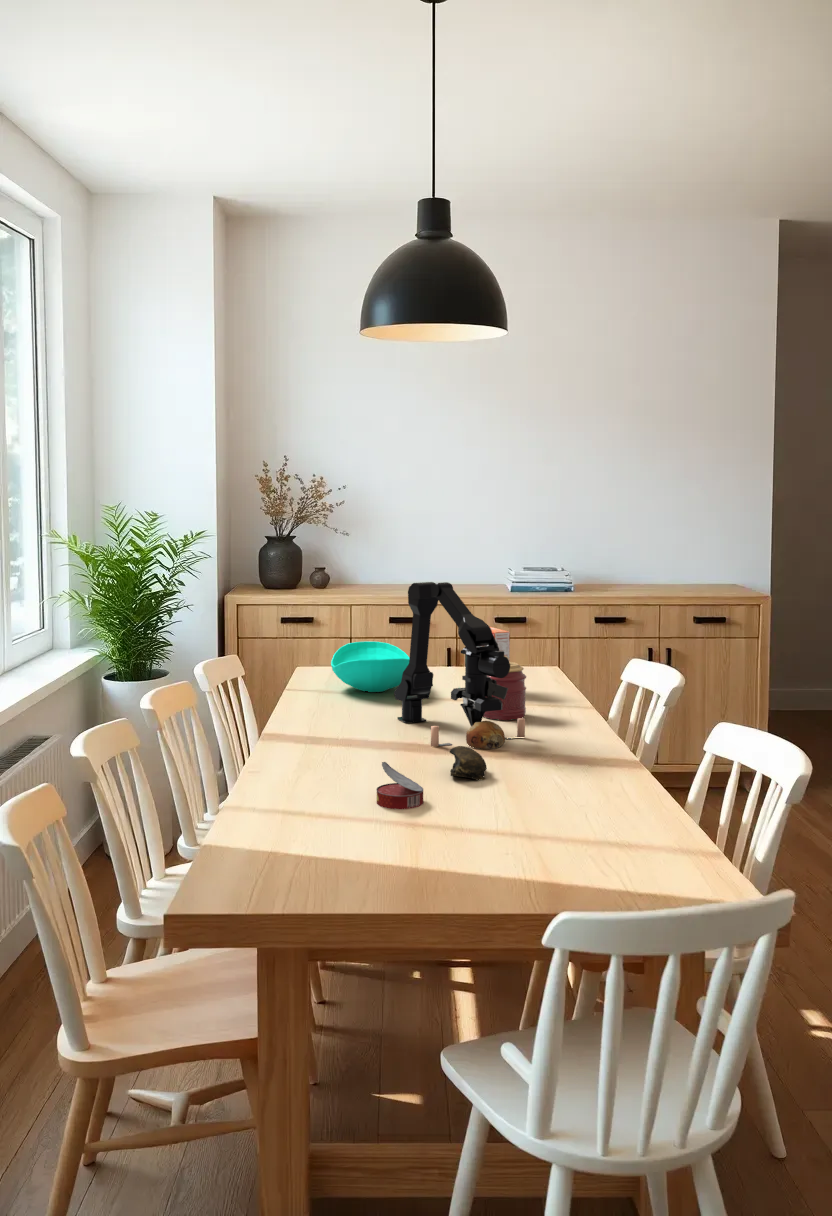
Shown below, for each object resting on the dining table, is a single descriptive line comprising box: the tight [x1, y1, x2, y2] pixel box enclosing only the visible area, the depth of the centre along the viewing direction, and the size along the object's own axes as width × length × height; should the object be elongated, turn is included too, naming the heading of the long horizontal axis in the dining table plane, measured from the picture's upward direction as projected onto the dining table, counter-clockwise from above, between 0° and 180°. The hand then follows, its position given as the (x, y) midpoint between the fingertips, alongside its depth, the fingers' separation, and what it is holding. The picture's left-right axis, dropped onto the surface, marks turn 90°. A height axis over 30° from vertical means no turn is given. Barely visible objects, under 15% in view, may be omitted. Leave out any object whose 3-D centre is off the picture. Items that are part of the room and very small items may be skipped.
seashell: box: [449, 745, 487, 781], centre depth 252 cm, size 16×9×7 cm, turn 179°
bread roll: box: [465, 720, 506, 750], centre depth 281 cm, size 10×10×8 cm
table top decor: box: [330, 641, 410, 693], centre depth 354 cm, size 40×28×13 cm
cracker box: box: [480, 625, 511, 660], centre depth 351 cm, size 14×6×21 cm, turn 25°
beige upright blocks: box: [430, 717, 526, 747], centre depth 284 cm, size 2×27×5 cm, turn 114°
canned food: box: [376, 761, 424, 810], centre depth 229 cm, size 11×10×10 cm
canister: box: [483, 656, 527, 721], centre depth 315 cm, size 13×13×18 cm
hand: (475, 731), depth 286 cm, fingers closed
